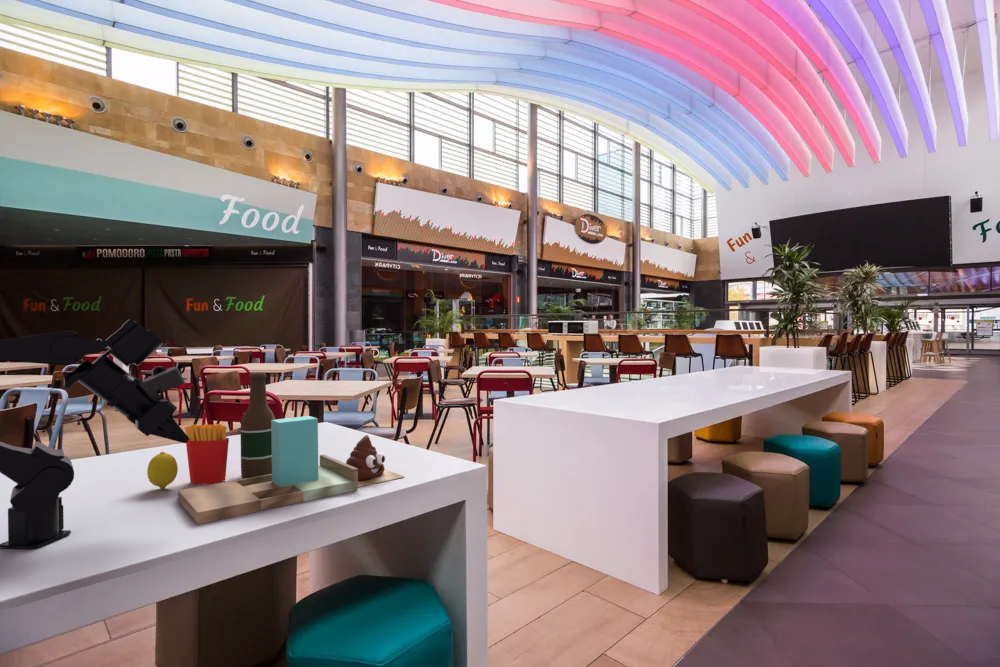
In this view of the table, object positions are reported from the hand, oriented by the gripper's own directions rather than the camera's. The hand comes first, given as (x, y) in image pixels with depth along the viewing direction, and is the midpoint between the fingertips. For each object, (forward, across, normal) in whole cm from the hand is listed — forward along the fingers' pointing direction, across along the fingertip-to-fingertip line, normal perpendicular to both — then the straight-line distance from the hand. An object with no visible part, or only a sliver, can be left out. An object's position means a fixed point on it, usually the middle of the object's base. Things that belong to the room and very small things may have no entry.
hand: (187, 440), depth 101 cm
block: (+22, 0, -6) cm, 23 cm away
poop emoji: (+34, -1, -16) cm, 38 cm away
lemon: (+9, +20, +10) cm, 25 cm away
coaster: (+34, -1, -16) cm, 38 cm away
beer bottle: (+22, +18, -4) cm, 29 cm away
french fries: (+15, +20, +4) cm, 26 cm away
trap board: (+20, 0, -1) cm, 20 cm away
